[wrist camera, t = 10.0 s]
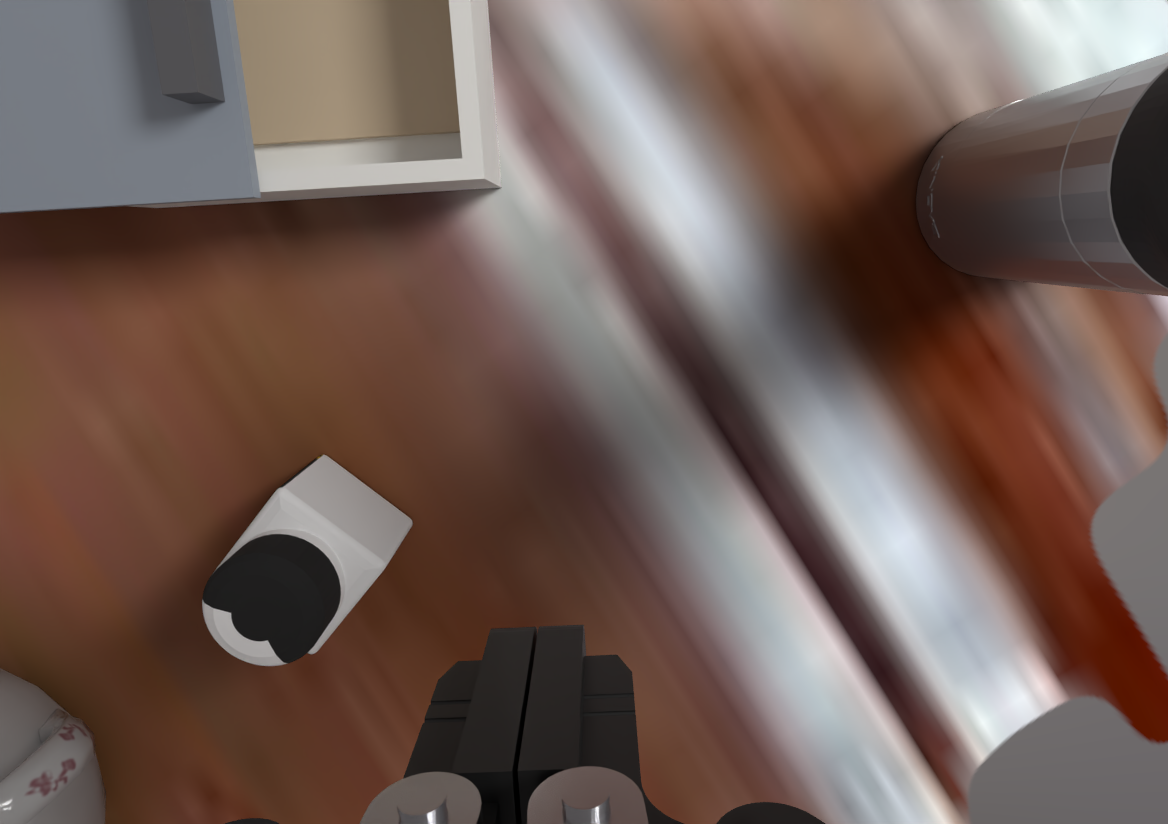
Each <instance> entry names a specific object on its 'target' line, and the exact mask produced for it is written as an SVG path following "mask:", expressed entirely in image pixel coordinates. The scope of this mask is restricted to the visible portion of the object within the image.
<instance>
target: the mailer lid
mask: <svg viewBox="0 0 1168 824" xmlns="http://www.w3.org/2000/svg"><path fill="white" fill-rule="evenodd" d="M253 198H261V195H260V188H259V181H258V173H257V166H256V159H255V152H254V145H253V138H252V131H251V124H250V117H249V110H248V103H247V95H246V88H245V81H244V74H243V67H242V60H241V53H240V46H239V39H238V32H237V24H236V17H235V10H234V3H233V0H0V214H1V213H18V212H35V211H51V210H68V209H85V208H102V207H119V206H135V205H152V204H169V203H186V202H202V201H219V200H236V199H253Z"/></svg>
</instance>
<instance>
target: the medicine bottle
mask: <svg viewBox="0 0 1168 824" xmlns="http://www.w3.org/2000/svg"><path fill="white" fill-rule="evenodd" d="M412 525H413V523H412V520H411V518H409V517H408V516H407V515H405V514H404V513H403V512H401V511H400V510H399V509H397V508H396V507H395V506H393V505H392V504H391V503H389V502H388V501H387V500H385V499H384V498H383V497H381V496H380V495H379V494H377V493H376V492H375V491H373V490H372V489H371V488H369V487H368V486H367V485H365V484H364V483H363V482H361V481H360V480H359V479H357V478H356V477H355V476H353V475H352V474H351V473H349V472H348V471H347V470H345V469H344V468H343V467H341V466H340V465H339V464H337V463H336V462H335V461H333V460H332V459H331V458H329V457H328V456H326V455H320V456H319V457H317V458H316V459H315V460H314V461H312V462H311V463H310V464H308V465H307V466H306V467H305V468H303V469H302V470H301V471H300V472H298V473H297V474H296V475H295V476H293V477H292V478H291V479H289V480H288V481H287V482H286V483H284V484H283V485H282V486H281V487H279V488H278V489H277V490H276V491H275V492H274V494H273V495H272V496H271V498H270V499H269V500H268V502H267V503H266V504H265V506H264V507H263V508H262V509H261V511H260V512H259V513H258V515H257V516H256V517H255V519H254V520H253V521H252V523H251V524H250V525H249V527H248V528H247V529H246V530H245V532H244V533H243V534H242V536H241V537H240V538H239V540H238V541H237V542H236V544H235V545H234V546H233V547H232V549H231V550H230V551H229V553H228V554H227V555H226V557H225V558H224V559H223V561H222V562H221V563H220V565H219V566H218V567H217V568H216V570H215V571H214V572H213V574H212V575H211V577H210V578H209V580H208V582H207V584H206V586H205V589H204V593H203V599H202V609H203V616H204V619H205V623H206V625H207V627H208V629H209V631H210V633H211V634H212V636H213V638H214V639H215V640H216V641H217V643H218V644H219V645H220V646H221V647H222V648H223V649H224V650H226V651H227V652H228V653H230V654H231V655H233V656H235V657H236V658H238V659H240V660H243V661H245V662H248V663H251V664H255V665H261V666H278V665H283V664H287V663H290V662H293V661H295V660H297V659H299V658H301V657H302V656H304V655H305V654H306V653H309V654H314V653H316V652H317V651H318V650H319V649H320V648H321V646H322V645H323V644H324V643H325V642H326V640H327V639H328V638H329V637H330V635H331V634H332V633H333V632H334V631H335V629H336V628H337V627H338V626H339V624H340V623H341V622H342V621H343V619H344V618H345V617H346V616H347V615H348V613H349V612H350V611H351V610H352V608H353V607H354V606H355V605H356V604H357V602H358V601H359V600H360V599H361V597H362V596H363V595H364V594H365V593H366V591H367V590H368V589H369V588H370V586H371V585H372V584H373V583H374V581H375V580H376V579H377V578H378V577H379V575H380V574H381V573H382V572H383V570H384V569H385V568H386V566H387V565H388V563H389V561H390V560H391V558H392V557H393V555H394V554H395V552H396V550H397V549H398V547H399V546H400V544H401V543H402V541H403V539H404V538H405V536H406V535H407V533H408V532H409V530H410V528H411V527H412Z"/></svg>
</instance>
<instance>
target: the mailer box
mask: <svg viewBox="0 0 1168 824" xmlns="http://www.w3.org/2000/svg"><path fill="white" fill-rule="evenodd" d="M233 3H234V10H235V17H236V24H237V32H238V39H239V46H240V53H241V60H242V67H243V74H244V81H245V88H246V95H247V103H248V110H249V117H250V124H251V131H252V138H253V145H254V152H255V159H256V166H257V173H258V181H259V188H260V195H261V198H253V199H236V200H219V201H202V202H186V203H169V204H152V205H135V206H133V207H148V208H167V207H184V206H201V205H218V204H235V203H251V202H268V201H285V200H302V199H319V198H336V197H352V196H369V195H386V194H403V193H420V192H436V191H453V190H470V189H487V188H502V184H501V171H500V158H499V145H498V132H497V119H496V106H495V92H494V79H493V66H492V53H491V40H490V27H489V14H488V0H233Z"/></svg>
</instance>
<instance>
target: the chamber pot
mask: <svg viewBox="0 0 1168 824" xmlns="http://www.w3.org/2000/svg"><path fill="white" fill-rule="evenodd" d="M95 746H96V745H95V739H94V733H93V732H92V731H91V730H90V728H89V727H88V726H87V725H86V724H85V723H84V722H83V720H81V719H79V718H76V717H73V716H72V715H71V714H70V713H68V712H67V711H66V710H65V709H64V708H63V707H62V706H60V705H59V704H58V703H57V702H56V701H55V700H54V699H52V698H51V697H50V696H49V695H48V694H47V693H46V692H44V691H43V690H42V689H41V688H40V687H38V686H36V685H34V684H32V683H30V682H28V681H26V680H24V679H22V678H20V677H18V676H16V675H13V674H11V673H9V672H7V671H5V670H3V669H1V668H0V824H105V806H106V791H105V787H104V783H103V779H102V776H101V772H100V768H99V764H98V761H97V757H96V753H95Z"/></svg>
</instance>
